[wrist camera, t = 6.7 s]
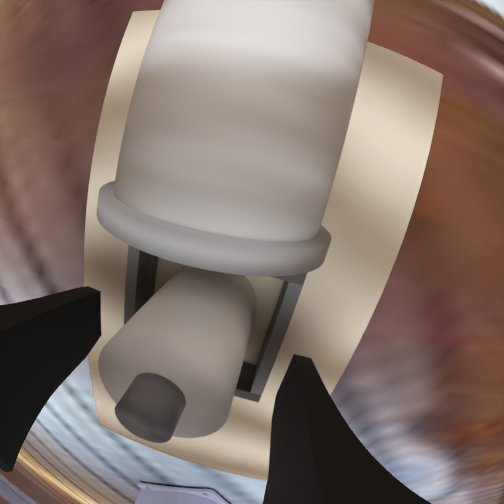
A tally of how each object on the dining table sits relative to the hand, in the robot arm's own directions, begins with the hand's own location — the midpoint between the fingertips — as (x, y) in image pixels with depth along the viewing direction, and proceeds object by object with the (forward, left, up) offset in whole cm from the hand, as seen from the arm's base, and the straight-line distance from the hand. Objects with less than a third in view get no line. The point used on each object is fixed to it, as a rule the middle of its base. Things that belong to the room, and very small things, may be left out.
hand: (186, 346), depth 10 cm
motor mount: (-1, -2, -4) cm, 5 cm away
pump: (0, 0, -3) cm, 3 cm away
